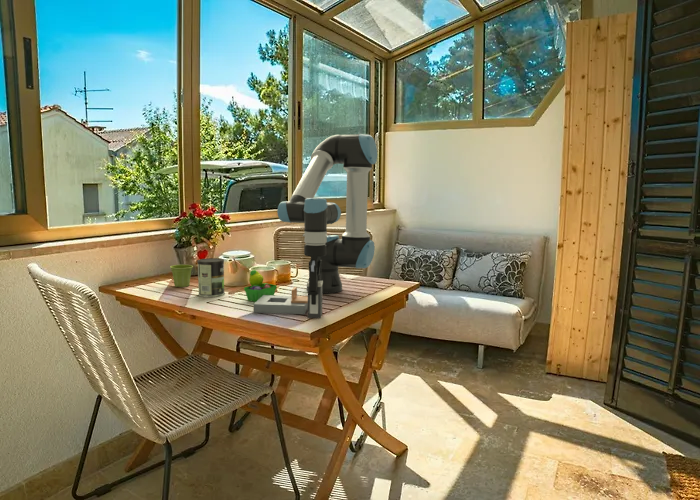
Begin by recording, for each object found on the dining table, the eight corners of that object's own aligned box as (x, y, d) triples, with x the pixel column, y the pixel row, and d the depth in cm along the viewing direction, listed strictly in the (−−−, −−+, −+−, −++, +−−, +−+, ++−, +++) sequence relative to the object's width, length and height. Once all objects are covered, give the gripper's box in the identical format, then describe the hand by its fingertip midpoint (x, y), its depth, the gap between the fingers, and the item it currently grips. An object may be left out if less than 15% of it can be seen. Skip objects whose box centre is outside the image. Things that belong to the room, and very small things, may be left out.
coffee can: (225, 291, 207) (224, 257, 205) (224, 296, 197) (223, 261, 195) (199, 292, 205) (198, 258, 203) (197, 297, 195) (196, 262, 193)
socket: (263, 302, 188) (263, 295, 188) (310, 304, 187) (310, 296, 187) (253, 312, 174) (253, 304, 174) (304, 314, 173) (304, 305, 173)
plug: (309, 314, 173) (309, 280, 172) (322, 314, 173) (322, 280, 171) (307, 317, 169) (307, 283, 167) (320, 318, 168) (321, 283, 167)
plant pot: (189, 282, 222) (188, 263, 221) (196, 286, 215) (196, 266, 214) (167, 285, 217) (167, 265, 216) (175, 289, 209) (174, 268, 208)
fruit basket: (257, 303, 187) (256, 274, 186) (240, 300, 192) (240, 271, 191) (278, 298, 196) (277, 269, 195) (261, 294, 202) (261, 267, 200)
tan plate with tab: (294, 297, 184) (294, 286, 183) (314, 298, 183) (314, 286, 182) (290, 302, 176) (290, 290, 176) (311, 303, 176) (311, 291, 175)
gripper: (308, 240, 176) (308, 304, 180) (299, 246, 159) (299, 317, 162) (329, 241, 176) (328, 305, 179) (323, 247, 159) (322, 318, 162)
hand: (315, 311), depth 171 cm, fingers closed on plug, 4 cm apart
